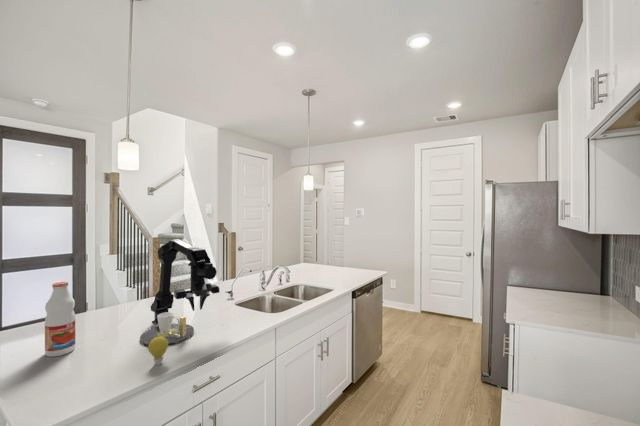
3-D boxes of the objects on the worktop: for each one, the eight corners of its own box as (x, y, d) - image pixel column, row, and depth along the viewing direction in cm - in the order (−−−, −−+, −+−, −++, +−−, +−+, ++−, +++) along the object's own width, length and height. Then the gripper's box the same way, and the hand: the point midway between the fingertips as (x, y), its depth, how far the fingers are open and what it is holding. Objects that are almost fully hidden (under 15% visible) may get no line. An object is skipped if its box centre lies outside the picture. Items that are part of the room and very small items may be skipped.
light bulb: (172, 360, 115) (172, 335, 115) (157, 369, 109) (157, 342, 109) (159, 357, 118) (159, 332, 117) (143, 366, 111) (143, 339, 111)
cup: (161, 328, 142) (162, 311, 142) (182, 329, 142) (183, 312, 142) (153, 335, 135) (153, 317, 135) (175, 335, 135) (175, 317, 135)
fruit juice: (65, 345, 128) (65, 279, 127) (81, 348, 125) (81, 281, 124) (38, 355, 119) (38, 284, 118) (55, 359, 116) (55, 286, 116)
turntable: (128, 339, 132) (128, 318, 132) (171, 322, 152) (171, 304, 152) (163, 349, 123) (163, 326, 123) (204, 330, 144) (204, 310, 144)
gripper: (179, 282, 125) (178, 319, 126) (223, 276, 137) (223, 311, 137) (173, 277, 134) (173, 312, 135) (215, 272, 146) (215, 304, 146)
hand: (197, 310), depth 138 cm, fingers open, 3 cm apart
